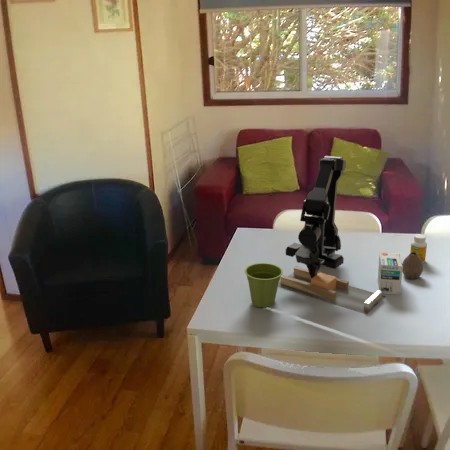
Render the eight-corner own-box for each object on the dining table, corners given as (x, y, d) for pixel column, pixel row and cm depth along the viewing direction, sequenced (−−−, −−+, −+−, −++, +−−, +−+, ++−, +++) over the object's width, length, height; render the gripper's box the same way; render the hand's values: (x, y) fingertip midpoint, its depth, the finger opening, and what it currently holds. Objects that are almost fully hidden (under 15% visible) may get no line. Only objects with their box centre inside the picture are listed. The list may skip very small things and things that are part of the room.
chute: (296, 272, 191) (296, 263, 190) (385, 298, 171) (386, 289, 170) (274, 287, 180) (274, 278, 179) (366, 316, 161) (367, 307, 160)
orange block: (319, 283, 181) (320, 272, 179) (335, 288, 177) (336, 277, 176) (310, 289, 176) (311, 278, 175) (326, 295, 173) (327, 283, 171)
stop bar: (377, 296, 171) (377, 289, 170) (381, 298, 170) (382, 291, 169) (363, 309, 164) (364, 302, 163) (368, 311, 163) (368, 303, 162)
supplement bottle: (408, 262, 196) (411, 237, 193) (410, 256, 201) (412, 232, 197) (424, 264, 194) (427, 239, 191) (425, 258, 199) (428, 234, 195)
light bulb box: (400, 297, 172) (403, 266, 168) (378, 295, 173) (381, 265, 170) (397, 282, 182) (400, 252, 178) (376, 280, 183) (379, 251, 179)
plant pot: (271, 315, 163) (272, 282, 159) (238, 306, 169) (237, 274, 165) (288, 299, 172) (289, 267, 168) (256, 290, 178) (256, 259, 174)
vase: (423, 274, 187) (425, 251, 184) (420, 282, 181) (423, 258, 178) (402, 270, 190) (404, 248, 187) (399, 279, 184) (401, 255, 181)
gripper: (276, 236, 172) (275, 279, 178) (328, 250, 161) (326, 296, 167) (295, 226, 180) (293, 268, 186) (345, 238, 169) (342, 283, 175)
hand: (312, 278), depth 178 cm, fingers closed
